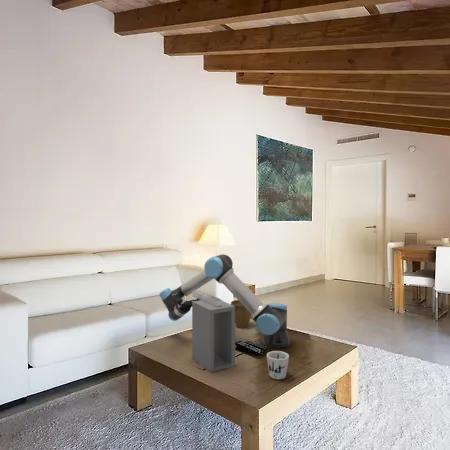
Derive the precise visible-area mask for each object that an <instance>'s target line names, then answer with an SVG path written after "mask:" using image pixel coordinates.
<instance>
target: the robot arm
mask: <svg viewBox="0 0 450 450" xmlns="http://www.w3.org/2000/svg"><path fill="white" fill-rule="evenodd" d="M233 263H234V262H233V260H232V258H231V257H230V256H229V255H227V254H224V253H223V254H218V255H215V256H211V257H209V258H208V259H207V260H206V261H205V264H204V266H203V267H204V270H202V271H201V272H199V273H198V274H196V275H194V276H193V277H192V278H191V279H189V280H188V281H186V282H184V283H183V284H181V285H180V286H178V287H177V288H175V289H173V290H172V289H171V288H169V287H168V288H167V287H166V288H165V289H164V290H162V291H160V292H159V297H160V298H161V301H162V302H163V305H164V306H165V308H166V309H167V311H168V318H169V319H170V320H171V321H174V322H175V321H179V320H180V319H181V318H183V317H184V316H185V315H186V314H188V313H189V312H190V311H191V310H192V302H193V301H200V300H199V299H197V298H195V299H191V300H188V299H187V297H188V296H189V295H192V294H193V291H196V290H199V289H200V288H201V287H203V286H204V285H206V284H208V283H209V282H211V281H212V280H215V281H216V282H217V283H218V284H223V285H224V286H225V288H226V289H228V291H229V292H230V293H231V294H232V295H233V296H234V297H235V298H236V300H239V301H240V302H241V303H242V304H243V305H244V307H245V308H246V309H247V310H248V311H249V312H250V313H251V317H252V320H253V321H254V323H256V328H257V330H258V331H259V332H260V333H261V334H263V339H262V340H263V341H262V342H263V345H265V346H267V347H269V348H274V349H275V348H276V349H280V348H281V349H283V348H286V347H289V346H290V344H291V343H290V342H291V340H290V337H289V333H288V324H287V323H288V307H287V305H286V304H284V303H280V302H279V303H278V302H277V303H276V302H275V303H274V302H269V303H263V302H262V300H260V298H259V297H257V295H256V294H255V293H254V292H253V291H252V290H251V289H250V288H249V287H248V286H247V285H246V284H245V283H244V282H243V281H242V280H241V279H240V278H239V277H238V276H237V275H236V274H235V273H234V268H233ZM205 293H206V294H209V292H205Z"/></svg>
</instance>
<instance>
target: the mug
mask: <svg viewBox="0 0 450 450" xmlns="http://www.w3.org/2000/svg"><path fill="white" fill-rule="evenodd" d="M289 355H290V354H289V353H287V352H285V351H281V350H272V351H269V352H267V353H266V361H267V369H268V374H269V377H270V378H272V379H275V380H282V379H285V378H286V377H287V372H288V366H289V359H290V356H289Z"/></svg>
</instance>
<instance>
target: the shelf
mask: <svg viewBox="0 0 450 450" xmlns="http://www.w3.org/2000/svg"><path fill="white" fill-rule="evenodd" d="M191 313H192V314H191V315H192V316H191V317H192V319H191V323H192V324H191V325H192V327H191V330H192V331H191V333H192V335H191V336H192V337H191V338H192V339H191V341H192V343H191V344H192V347H191V348H192V351H191V352H192V354H191V359H192V360H193V361H195V362H196V363H198V364H199V366H201V367H202V368H204V369H205V370H206V371H208V372H209V373H212V372H216V371H220V370H223V369H228V368H232V367H235V366H236V324H235V306H233V305H231V303H230V302H229V303H228V302H226V301H224V300H223V306H221V307H215V306H213V305H211V304H208V303H206V302H204V301H202V300H200V301H192V307H191Z"/></svg>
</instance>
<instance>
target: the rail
mask: <svg viewBox="0 0 450 450" xmlns="http://www.w3.org/2000/svg"><path fill="white" fill-rule="evenodd" d="M206 293H207V292H203V291H201V290H199V289H197V290H195V291H193V292H192V297H193V298H195V299H199V300H202V301H204V302H206V303H208V304H211V305H213V306H215V307H221V306H223V301H224V300H223V299H221V298H218V297H216V296H213V295H211V294H209V293H208V294H206Z"/></svg>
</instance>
